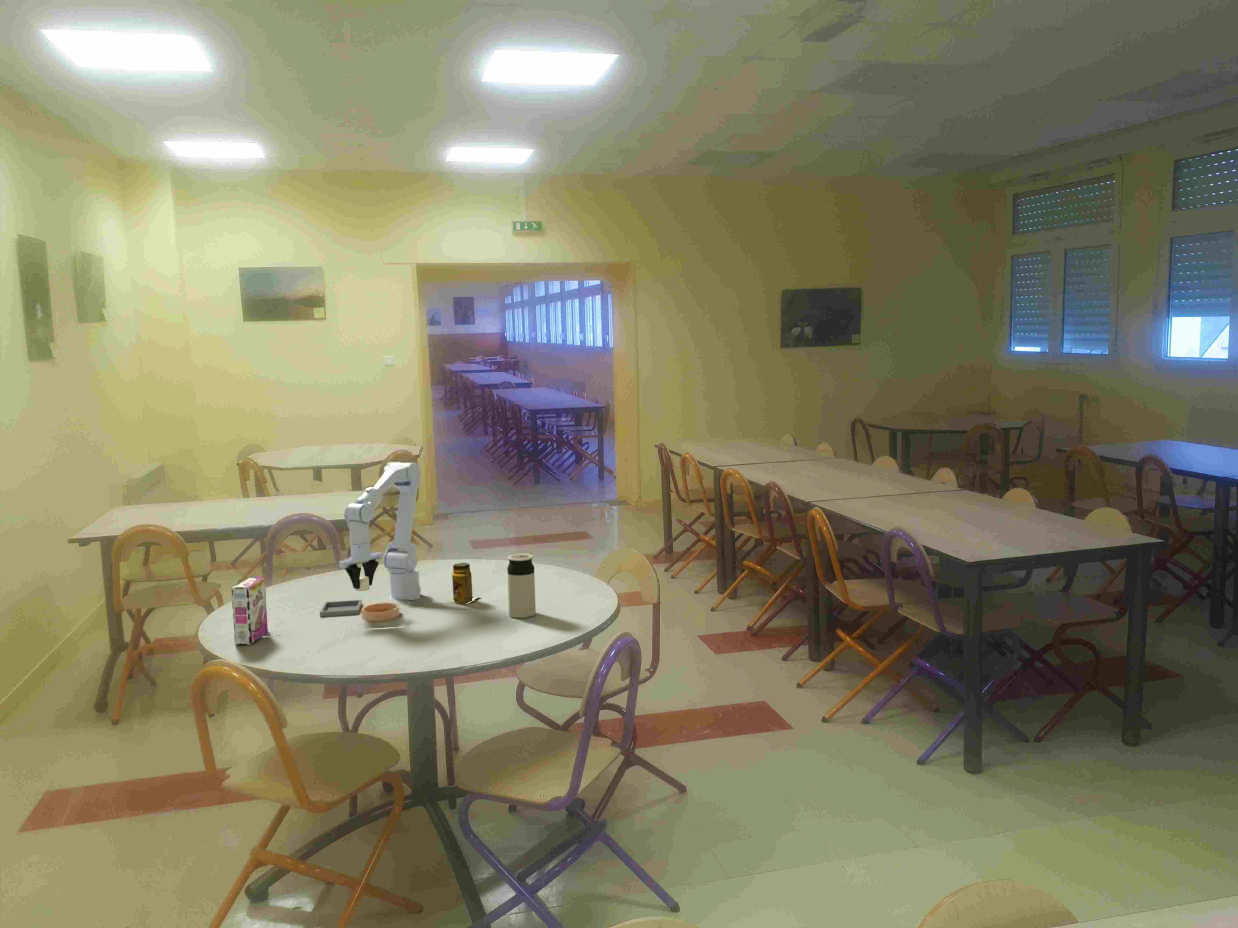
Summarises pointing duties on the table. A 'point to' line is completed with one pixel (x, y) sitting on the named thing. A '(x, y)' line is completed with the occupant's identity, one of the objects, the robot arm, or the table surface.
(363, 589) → the cream round lump
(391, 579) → the robot arm
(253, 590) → the candy bar box
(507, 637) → the table surface
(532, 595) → the travel mug
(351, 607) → the tray
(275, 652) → the table surface
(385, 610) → the bowl
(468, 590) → the condiment
